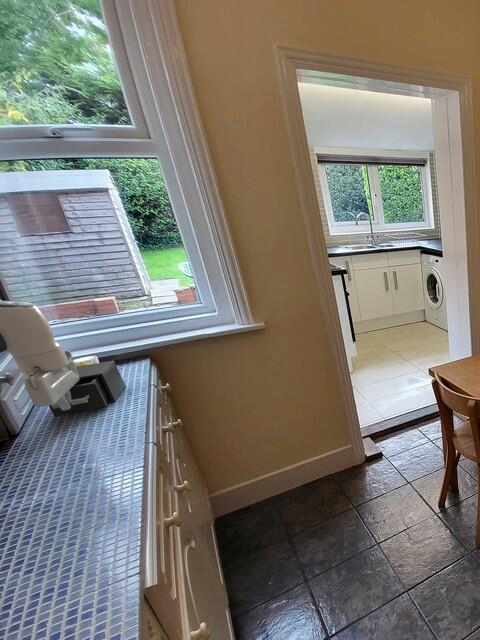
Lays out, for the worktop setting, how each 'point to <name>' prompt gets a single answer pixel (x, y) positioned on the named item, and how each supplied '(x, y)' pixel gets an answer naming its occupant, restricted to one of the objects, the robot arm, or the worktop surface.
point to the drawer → (84, 397)
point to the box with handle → (104, 377)
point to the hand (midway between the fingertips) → (68, 408)
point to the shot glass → (86, 360)
